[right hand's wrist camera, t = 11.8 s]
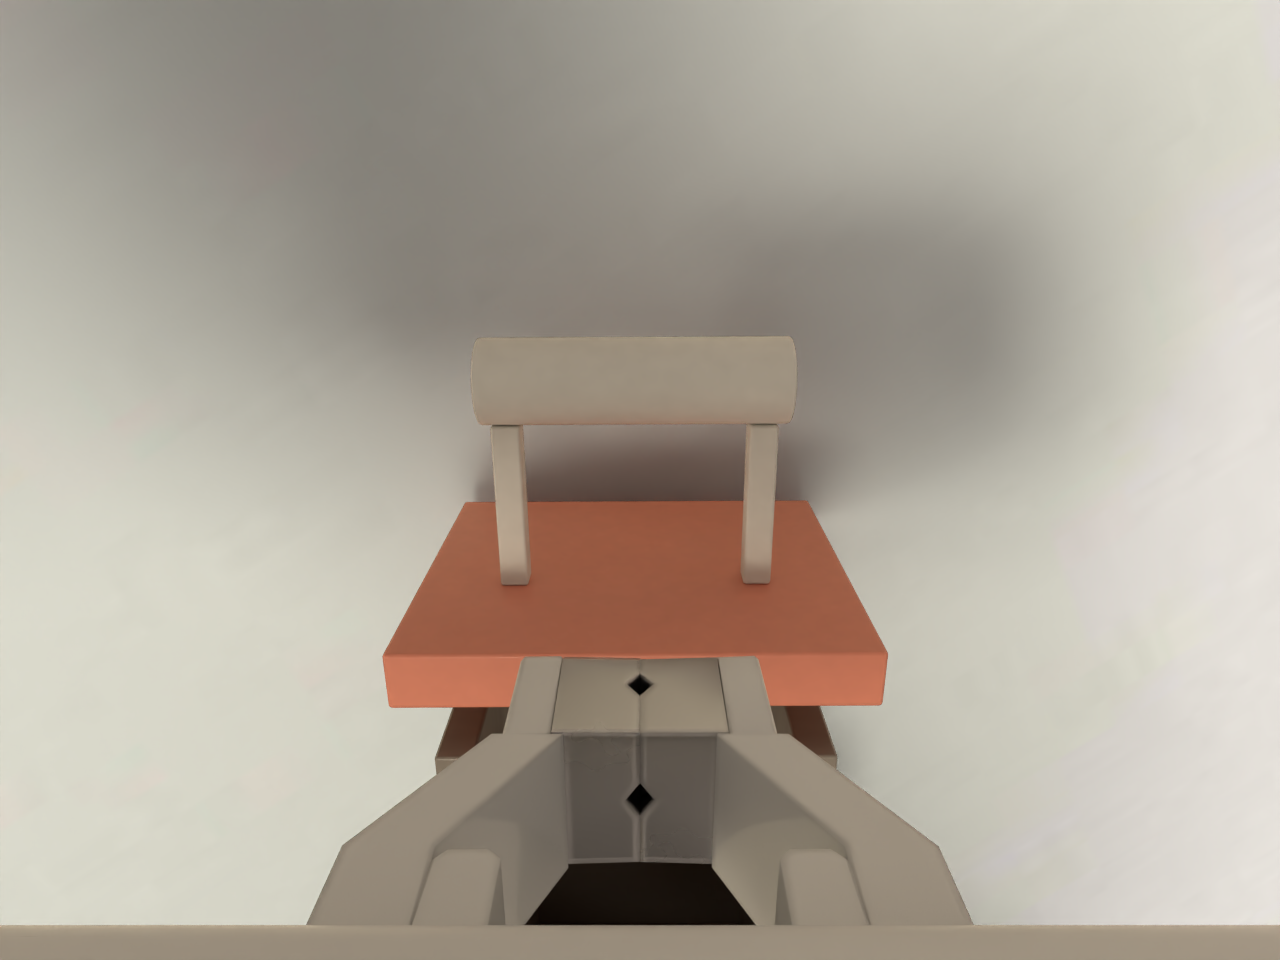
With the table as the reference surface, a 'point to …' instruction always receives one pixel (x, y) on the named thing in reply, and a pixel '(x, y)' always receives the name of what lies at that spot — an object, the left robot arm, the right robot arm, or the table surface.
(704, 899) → the drawer
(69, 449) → the table surface
